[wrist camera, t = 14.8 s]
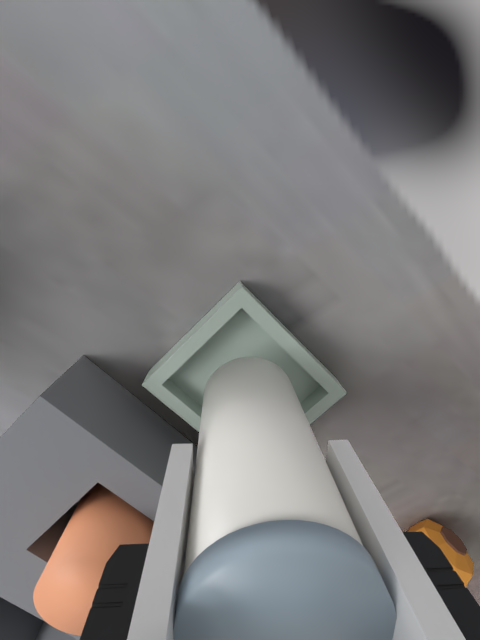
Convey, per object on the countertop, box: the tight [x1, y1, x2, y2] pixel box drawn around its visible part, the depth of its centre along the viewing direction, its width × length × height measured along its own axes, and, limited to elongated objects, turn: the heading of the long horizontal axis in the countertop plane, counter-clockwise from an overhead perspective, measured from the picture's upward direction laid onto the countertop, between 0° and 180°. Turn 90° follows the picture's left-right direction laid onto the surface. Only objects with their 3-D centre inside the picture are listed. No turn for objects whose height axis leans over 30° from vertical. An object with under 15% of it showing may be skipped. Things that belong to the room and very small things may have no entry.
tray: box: [142, 281, 347, 432], centre depth 20 cm, size 9×8×2 cm
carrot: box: [408, 519, 474, 588], centre depth 26 cm, size 20×4×4 cm, turn 151°
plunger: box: [33, 483, 154, 636], centre depth 18 cm, size 5×5×6 cm
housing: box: [0, 355, 198, 640], centre depth 21 cm, size 16×22×5 cm
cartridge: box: [173, 357, 396, 640], centre depth 13 cm, size 5×5×11 cm
